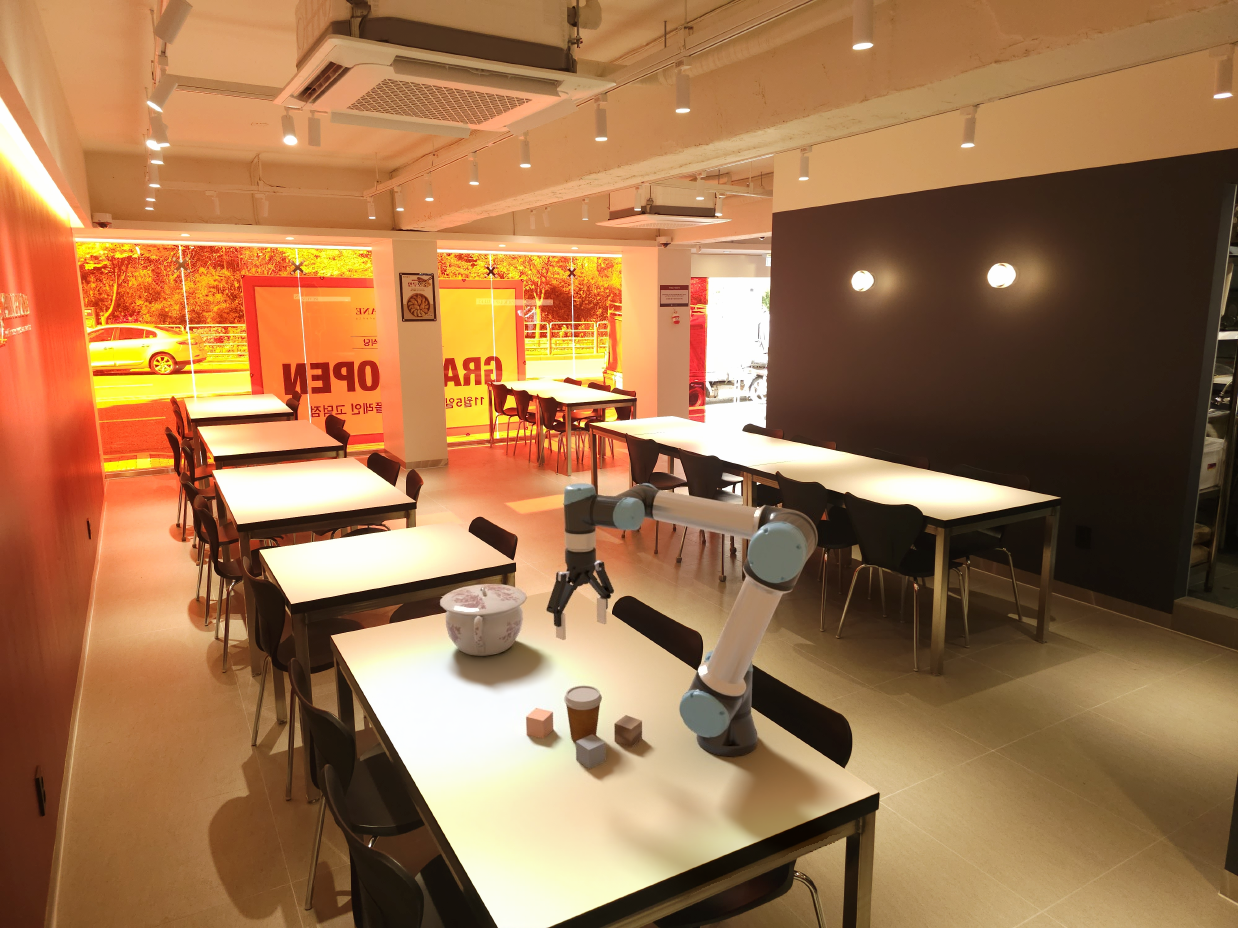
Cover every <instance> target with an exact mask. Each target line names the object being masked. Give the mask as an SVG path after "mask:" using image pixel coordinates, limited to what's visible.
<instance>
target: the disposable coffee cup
mask: <svg viewBox="0 0 1238 928" xmlns="http://www.w3.org/2000/svg"><path fill="white" fill-rule="evenodd" d="M602 699H603V697H602V694H601V691H600V690H599V689H598V688H597V687H595V686H592V685H585V684H583V685H577V686H572V687H570V688H569V689H568V690H566V692H565V695H564V698H563V701H564V703H565V705H566V713H567V718H568V723H569V725H568V726H569V731H570V738H571V740H572V741H573V742H574V743H576V741H578V740H580V739H582V738H585V737H587V736H589V735H592V734H593V735H594V736H596V737H597V731H598V724H599V715H600V714H599V713H600V707H601V703H602Z"/></svg>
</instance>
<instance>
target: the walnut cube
mask: <svg viewBox="0 0 1238 928" xmlns="http://www.w3.org/2000/svg"><path fill="white" fill-rule="evenodd" d="M613 728H614V742H615V743H617V744H620V745H623V746H626V747H629V748H632V747H633V746H635V745H636V744H637V743H638V742H640V741H641V740H642V739H643V720H642V719H639V718H635V717H633V716H629V715H628V714H627V715H626V714H625V715H623V716H622V717H621V718H619V719H618V720H616V721H615V722H614V727H613Z"/></svg>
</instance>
